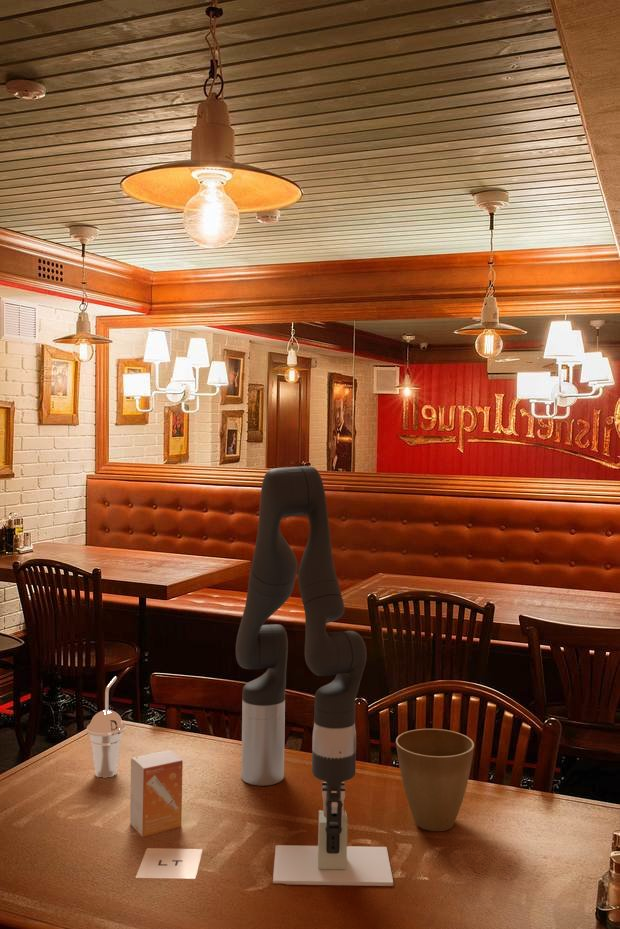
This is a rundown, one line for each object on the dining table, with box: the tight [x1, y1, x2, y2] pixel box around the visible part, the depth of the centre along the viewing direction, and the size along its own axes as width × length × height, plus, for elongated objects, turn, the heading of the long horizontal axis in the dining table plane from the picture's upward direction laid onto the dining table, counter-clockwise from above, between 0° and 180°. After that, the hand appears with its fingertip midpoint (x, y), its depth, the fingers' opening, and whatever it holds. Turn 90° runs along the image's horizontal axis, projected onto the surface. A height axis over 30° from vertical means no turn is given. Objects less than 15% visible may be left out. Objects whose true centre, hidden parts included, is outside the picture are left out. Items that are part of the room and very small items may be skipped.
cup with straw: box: [85, 675, 127, 779], centre depth 184 cm, size 8×9×20 cm
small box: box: [129, 749, 184, 838], centre depth 160 cm, size 8×6×13 cm
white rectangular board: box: [272, 844, 394, 887], centre depth 146 cm, size 12×20×1 cm, turn 90°
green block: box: [317, 809, 348, 870], centre depth 146 cm, size 5×5×8 cm
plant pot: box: [395, 728, 475, 832], centre depth 163 cm, size 15×15×16 cm
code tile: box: [135, 847, 204, 880], centre depth 146 cm, size 10×10×1 cm
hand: (332, 843), depth 146 cm, fingers open, 5 cm apart
